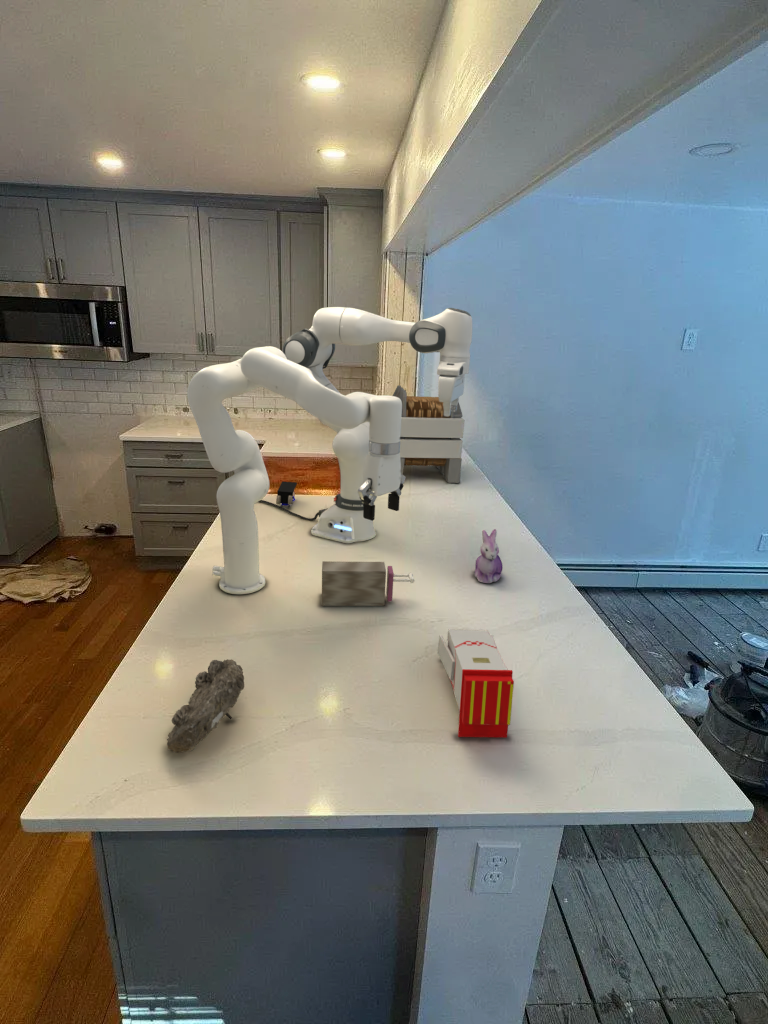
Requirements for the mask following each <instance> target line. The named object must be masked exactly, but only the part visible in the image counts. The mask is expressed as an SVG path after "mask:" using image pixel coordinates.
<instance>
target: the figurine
mask: <svg viewBox="0 0 768 1024" xmlns="http://www.w3.org/2000/svg"><path fill="white" fill-rule="evenodd" d="M497 531H498V530H497V528H494V529H493V530H492V531H491V532H490V535H489V534H488V532H487V531H486V530H485V529H482V531H481V536H482V537H481V538H482V539H481V540H482V543H481V545H480V548H479V549H480V550H479V551H480V555H479V556H478V557H477V558H476V559H475V567H474V578H476V579H477V581H478V582H480V583H484V584H492V583H495V582H496V583H497V581H499V580H500V578H501V576H502V572H503V562H502V559H501V556H499V553H500V547H499V545H498V543H497V541H496V540H497V534H498V533H497Z"/></svg>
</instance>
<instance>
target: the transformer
mask: <svg viewBox="0 0 768 1024" xmlns="http://www.w3.org/2000/svg"><path fill="white" fill-rule="evenodd" d="M407 394H408V393H407V390H406V389H404V388H403V387H402V385H399V384H398V385H397V386H396V388H395V390H394V392H393V394H392V396H395V397H398V398H400V399H401V401H402V416H401V434H400V460H401V474H402V475H404V469H405V466H406V467H407V466H411V467H412V466H413V467H415V466H416V467H417V466H418V467H436V468H437V470H438V469H439V473H440V474H441V475H443V478H444V479H445V481H446V482H447V483H449V484H455V483H456V484H459V483H461V472H462V461H463V460H462V453H463V442H464V441H463V440H462V439H463V438H464V431H465V430H464V429H465V419H464V418H463V411H462V408H461V405H460V401H458V405H457V410H456V411H455V412H452V411H451V414H450V416H449V417H447V416H444V408H443V402H440V401H439V397H438V396H415V395H414V396H413V395H412V396H411V395H407Z"/></svg>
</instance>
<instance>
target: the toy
mask: <svg viewBox="0 0 768 1024" xmlns="http://www.w3.org/2000/svg"><path fill="white" fill-rule="evenodd" d="M446 640H447V643H446V641H445V639H444V636H443V635H442V634H439V637H438V646H437V656H438V657H439V659H440V661H441V663H442V666H443V668H444V670H445V672H446V674H447V677H448V679H449V681H450V684H451V687H452V690H453V693H454V697H455V701H456V705H457V708H458V711H459V714H458V715H459V716H458V730H457V731H458V732H457V737H458V738H508V731H509V726H510V725H511V717H512V707H513V697H514V696H513V695H514V684H515V680H514V679H513V673H514V671H513V670H512V669H508V667H507V665H506V662H505V661H504V659H503V658H502V655H501V653H500V651H499V649H498V647H497V643H496V639H495V637H494V635H493V634H491V632H490V631H489V629H467V628H466V629H465V628H463V629H461V628H460V629H459V628H448V630H447V639H446Z"/></svg>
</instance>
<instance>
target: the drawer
mask: <svg viewBox="0 0 768 1024" xmlns="http://www.w3.org/2000/svg"><path fill="white" fill-rule="evenodd" d="M396 582H397V583H398V582H401V583H403V582H405V583H407V582H408V583H410V584H414V583H415V578H414V574H413V573H412V572H408V573H394V569H393V565H387V569H386V587H385V596H386V599H387V602H393V593H394V583H396Z"/></svg>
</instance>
